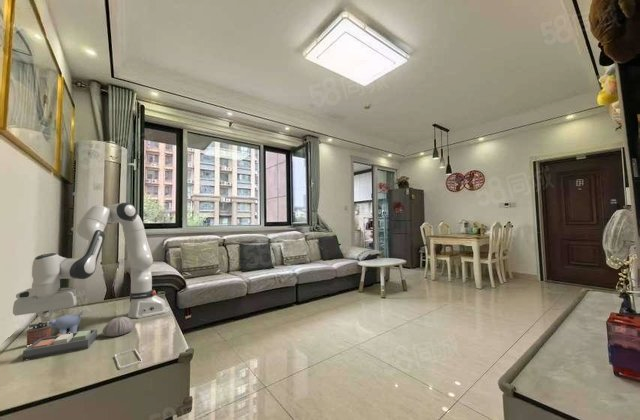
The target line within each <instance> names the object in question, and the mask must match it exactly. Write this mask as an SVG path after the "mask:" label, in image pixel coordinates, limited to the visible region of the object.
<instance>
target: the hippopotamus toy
mask: <svg viewBox="0 0 640 420" xmlns="http://www.w3.org/2000/svg"><path fill="white" fill-rule="evenodd" d="M83 313H84V310H82V311H81V312H79V313H72V314H71V313H70V314H65V315H62V316H59V317H58V318H54V319H51V320H50V321H48V324H47V325H51V329H54V328H55V329H56V328H57V329H58V333H57V335H61V334H69V333H74V332H78V327H80V324H81V321H82V318H81V316H82V315H83ZM67 329H68V330H69V331H68V330H67Z"/></svg>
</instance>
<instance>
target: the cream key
mask: <svg viewBox="0 0 640 420" xmlns="http://www.w3.org/2000/svg"><path fill="white" fill-rule="evenodd" d="M72 338H73V333H70V334H68V333H66V334H64V335H60V336H59V337H58V338H56V339H55V340H54V345H56V344H62V343H67V342H69V341H70V340H71V339H72Z"/></svg>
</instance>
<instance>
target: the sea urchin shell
mask: <svg viewBox="0 0 640 420" xmlns="http://www.w3.org/2000/svg"><path fill="white" fill-rule="evenodd" d="M135 325H136V324H135V321H134V320H132V318H130V317H128V316H117V317H115V318H113V319H111V320H110V321H108V322H107V324H105V326H104V327H103V329H102V335H103V336H104V337H108V338H110V337H118V336H119V337H120V336H122V335H125V334H128V333H129V332H131V331H132V330H134V328H135Z"/></svg>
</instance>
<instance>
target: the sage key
mask: <svg viewBox="0 0 640 420" xmlns="http://www.w3.org/2000/svg"><path fill="white" fill-rule="evenodd" d="M91 330H92V329H91ZM91 330H85V331H82V332H79V331H77V332H78V333H77V334H76V335H75V336H74V337H73V341H79V340H84V339H87V337H88V336H89V335H90V334H91Z"/></svg>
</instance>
